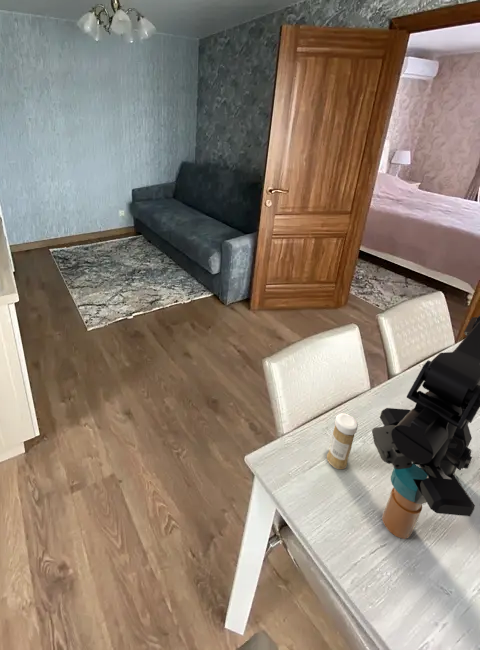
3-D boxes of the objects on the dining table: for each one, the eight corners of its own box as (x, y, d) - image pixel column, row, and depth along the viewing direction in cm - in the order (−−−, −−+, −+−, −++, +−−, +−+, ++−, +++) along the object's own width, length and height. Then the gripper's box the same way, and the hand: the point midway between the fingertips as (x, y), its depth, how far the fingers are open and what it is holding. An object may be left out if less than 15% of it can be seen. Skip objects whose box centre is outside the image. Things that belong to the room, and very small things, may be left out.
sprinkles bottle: (350, 463, 83) (362, 423, 78) (339, 473, 81) (350, 432, 76) (333, 448, 87) (343, 409, 82) (322, 458, 84) (332, 418, 79)
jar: (403, 511, 73) (416, 478, 69) (416, 540, 69) (432, 506, 65) (377, 509, 74) (389, 476, 70) (389, 537, 69) (403, 503, 65)
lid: (399, 501, 63) (403, 490, 62) (384, 469, 69) (388, 459, 68) (434, 504, 63) (439, 494, 62) (416, 472, 68) (420, 462, 67)
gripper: (362, 382, 69) (346, 438, 75) (414, 474, 52) (388, 537, 58) (420, 386, 68) (400, 442, 74) (492, 481, 51) (458, 544, 57)
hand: (408, 485), depth 66 cm, fingers closed on lid, 6 cm apart
